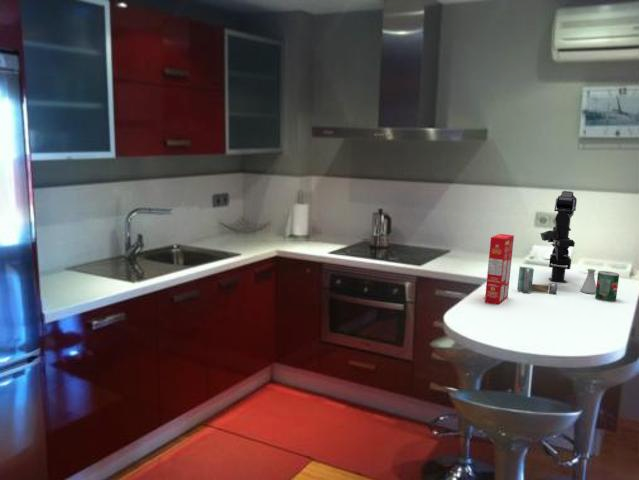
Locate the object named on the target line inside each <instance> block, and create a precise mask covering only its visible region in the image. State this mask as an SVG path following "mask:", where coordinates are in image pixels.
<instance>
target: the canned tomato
mask: <svg viewBox="0 0 639 480" xmlns="http://www.w3.org/2000/svg"><path fill="white" fill-rule="evenodd" d="M619 278H620V274H619V273H618V272H613V271H606V270H605V271H604V270H599V271H597V278H596V293H595V294H594V299H595V300H597V301H601V302H607V303H615V302H617V295H618V288H619V281H620V279H619Z"/></svg>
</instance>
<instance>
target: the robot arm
mask: <svg viewBox="0 0 639 480" xmlns="http://www.w3.org/2000/svg"><path fill="white" fill-rule="evenodd" d="M577 202H578V199H577V197H576V196H575V195H574V192H573V191H569V190H568V191H567V190H563V191H561V194H560V195H558V196H557V198H556V199H555V204H554V212H557V214H556V215H555V218H554V220H555V225H554V226H553V227H552V230H550V229H549V230H546V231H544V232H540V238H541V241H544V242H548V243H551V244H550V245H551V246H552V247H553V249H552V253H551V254H550V256H549V263H548V264H549V266H548V268H551V274H550V275H551V277H548V279H549V280H550V281H551V282H555V283H556V282H557V283H567V281H566V279H565V276H566V270H571V267H572V266H571V264H572V259H571V256H570V255H569V248H570V247H572V248H573V247H575V243H576V242H575V241H574V240H573V239H570V237H569V235H570V232H571V231H572V230H571V228H570V226H571V218H572V217H573V216H574V214H575V212H576V210H577Z"/></svg>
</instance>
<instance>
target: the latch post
mask: <svg viewBox="0 0 639 480" xmlns="http://www.w3.org/2000/svg"><path fill="white" fill-rule="evenodd" d="M530 276H531V269H525V274H524V284H523V291H522V294H524V295H525V294H526V295H527V294H530V292H529V286H530Z"/></svg>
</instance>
